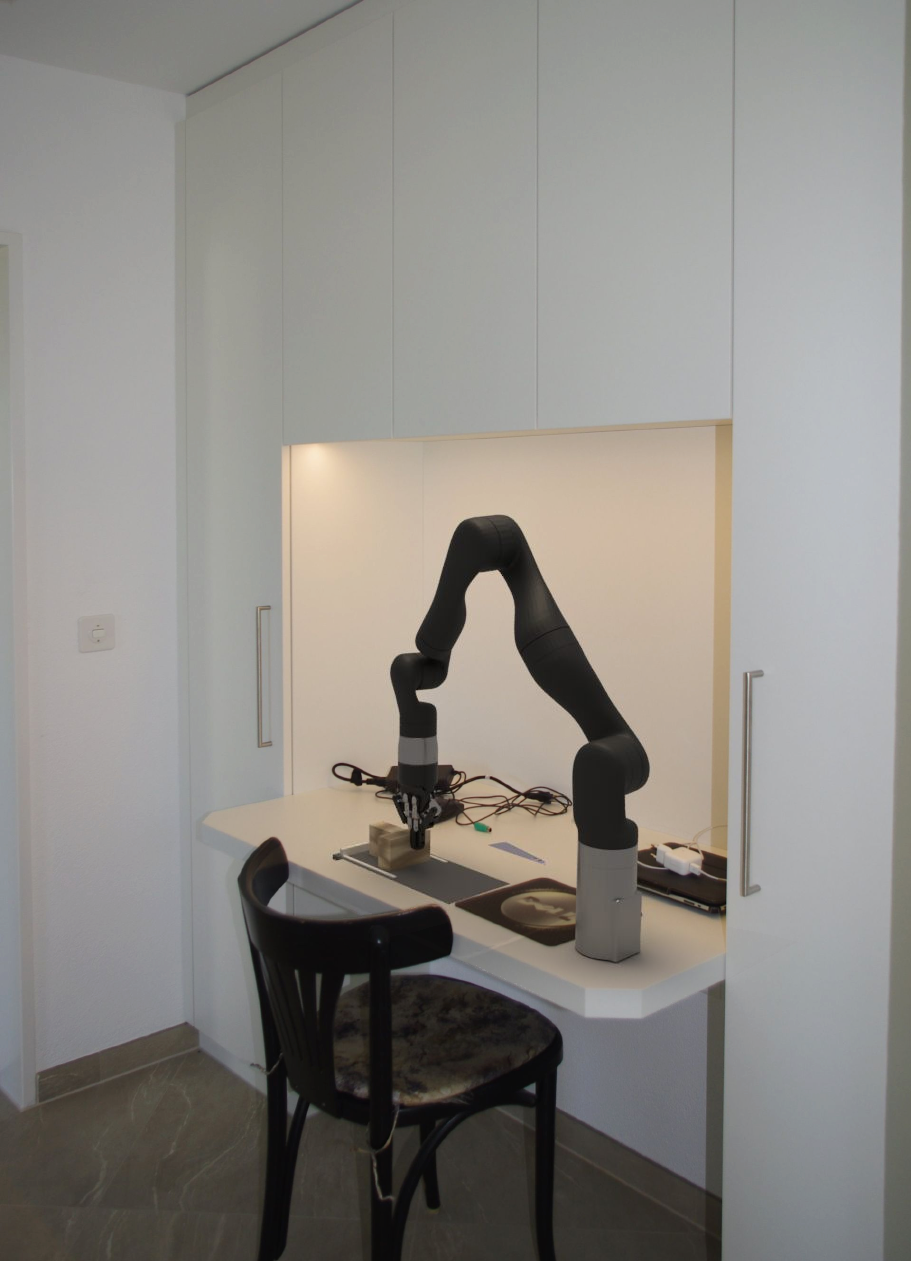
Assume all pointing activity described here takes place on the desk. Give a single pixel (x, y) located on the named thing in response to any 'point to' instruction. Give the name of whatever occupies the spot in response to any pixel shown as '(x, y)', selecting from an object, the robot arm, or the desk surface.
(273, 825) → the desk surface
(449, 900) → the desk mat
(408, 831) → the T block
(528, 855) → the lavender triangular plate
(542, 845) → the desk surface
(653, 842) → the desk surface
